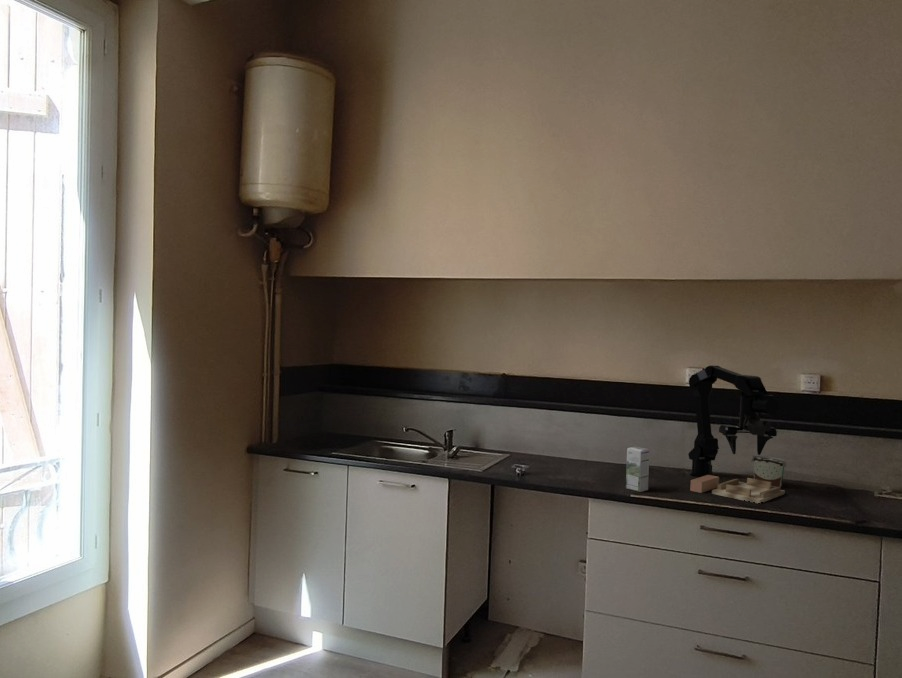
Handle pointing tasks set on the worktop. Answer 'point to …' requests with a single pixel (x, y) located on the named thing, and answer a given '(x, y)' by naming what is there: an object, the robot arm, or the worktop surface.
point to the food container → (769, 469)
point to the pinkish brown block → (704, 483)
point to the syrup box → (637, 469)
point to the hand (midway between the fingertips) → (746, 454)
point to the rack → (748, 490)
